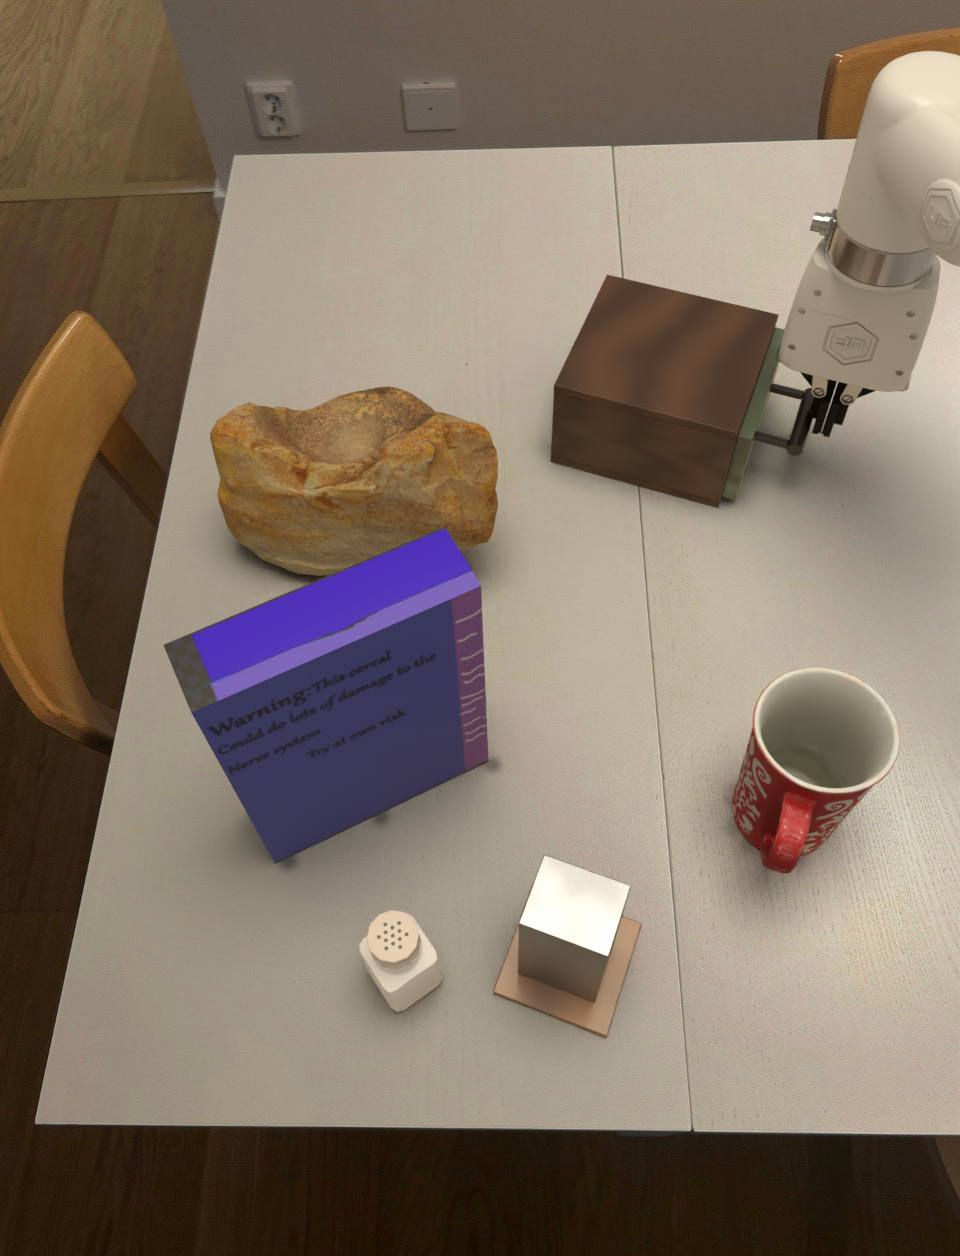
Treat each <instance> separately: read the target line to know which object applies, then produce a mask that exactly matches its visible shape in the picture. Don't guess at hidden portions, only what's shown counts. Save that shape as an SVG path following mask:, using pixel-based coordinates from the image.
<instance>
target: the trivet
mask: <svg viewBox="0 0 960 1256" xmlns="http://www.w3.org/2000/svg"><path fill="white" fill-rule="evenodd" d="M532 886H533V884H532V885H531V887H532ZM530 891H531V889H530ZM530 891H529V893H528V896H527V899H528V897H529V894H530ZM527 899H526V901H525V904H524V906H525V905H526V902H527ZM523 910H524V908H523V909H522V912H521V915H520V918H521V916H522V913H523ZM520 918H519V920H518V923H517V926H516V928H515V930H514V934H513V936H512V939H511V942H510V945H509V947H508V950H507V953H506V956H505V959H504V961H503V964H502V967H501V969H500V971H499V975H498V978H497V980H496V982H495V985H494V987H493V990H492V992H493V994H494V995H497V996H499V997H501V998H503V999H507V1000H509V1001H511V1002H514V1003H517V1004H520V1005H522V1006H525V1007H527V1008H529V1009H532V1010H533V1011H534V1010H535V1011H537V1012H539V1013H542V1014H544V1015H548V1016H550V1017H553V1018H555V1019H557V1020H560V1021H562V1022H565V1023H568V1024H570V1025H573V1026H575V1027H578V1028H581V1029H582V1030H586V1031H587V1032H590V1033H593V1034H596V1035H598V1036H601V1037H603V1038H607V1037H608V1034H609V1031H610V1028H611V1025H612V1023H613V1022H612V1021H613V1018H614V1015H615V1012H616V1010H617V1009H616V1008H617V1005H618V1002H619V998H620V995H621V992H622V989H623V986H624V983H625V980H626V976H627V973H628V969H629V967H630V963H631V960H632V957H633V953H634V950H635V947H636V943H637V940H638V937H639V934H640V930H641V927H642V922H640V921H637V920H634V919H633V918H632V919H631V918H629V917H626V916H624V915H622V919H621V922H620V925H619V929H618V932H617V936H616V939H615V942H614V945H613V949H612V952H611V955H610V958H609V961H608V964H607V967H606V971H605V974H604V977H603V980H602V983H601V986H600V989H599V993H598V996H597V999H596V1002H595V1003H594V1002H591V1001H589V1000H586V999H583V998H581V997H578V996H576V995H573V994H570V993H568V992H565V991H563V990H560V989H558V988H555V987H552V986H550V985H547V984H545V983H542V982H539V981H537V980H534V979H532V978H529V977H526V976H524V975H521V974H519V973H518V939H519V921H520Z"/></svg>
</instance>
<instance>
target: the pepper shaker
mask: <svg viewBox="0 0 960 1256" xmlns="http://www.w3.org/2000/svg"><path fill="white" fill-rule="evenodd" d="M358 949H359V954H360V956H361V958H362V961H363V963H364V965H365V967H366V970H367V972H368V975H369V976H370V977H371V979H372V980H373V982H374V983H375V985H376V986H377V988H378V990H379V991H380V993H381V995H382V996H383V998H384V1000H385V1001H386V1003H387V1004H388V1005H389V1007H390V1009H392V1010H393V1011H395V1012H396V1013H399V1012H404V1011H405V1010H407V1009H408V1008H409V1007H411V1006H412V1005H414V1004H415V1003H417V1002H418V1001H419V1000H421V999H422V998H423V997H425V996H427V995H428V994H429V993H430V992H431V991H433V990H435V989H436V988H437V987H439V985H440V984H441V983H442V981H443V975H442V971H441V967H440V961H439V957H438V953H437V950H436V948H435V947H434V946H433V943H431V941H430V939H429V938H428V936H427V935H426V934H425V932H424V930H423V929H422V928H421V926H420V924H419V923H418V922H417V920H416V919H415V917H414V916H412V915H411V914H410V913H407V912H405V911H400V910H396V909H395V910H394V909H390V910H387V911H385V912H382V913H379V914H378V915H377V916H376V917H375V918H374V919H373V920H372V921H371V923H370V924H369V925H368V931H367V934H366V936H364V937H363V938H362V940H361V941H360V943H359V944H358Z"/></svg>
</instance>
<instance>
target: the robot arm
mask: <svg viewBox="0 0 960 1256" xmlns="http://www.w3.org/2000/svg"><path fill="white" fill-rule="evenodd" d="M836 208H837V209H836ZM836 208H832V210H831V212H828V211H826V212H825V213H824V212H818V211H815V212H814V213H813V214H814V215H813V217H812V221H811V225H810V228H809V231H810V232H812V233H813V232H814V233H818V234H819V236H823V237H822V238H821V239H820V241H819V243H818V245H817V246H816V247H815V249H814V251H813V253H812V254H811V256H810V258H809V260H808V263H807V265H806V266H805V268H804V271H803V274H802V276H801V279H800V281H799V284H798V287H797V289H796V292H795V295H794V297H793V301H792V305H791V308H790V310H789V314H788V317H787V321H786V323H785V327H784V329H785V330H784V334H783V337H782V341H781V344H780V346H779V348H778V351H777V353H776V356H775V358H776V360H777V361H778V362H780V363H781V364H783V366H784V367H787V368H788V369H790V370H792V371H795V372H799V374H800V375H801V376H802V377H803V378H804V379H805V381H806V382H807V383H808V384H809V385H810V388H812V389H811V393H812V395H813V396H814V398H813V402H812V405H811V408H810V411H809V415H808V417H810V418H813V420H814V419H815V421H814V424H813V427H812V430H811V434H814V435H819V434H821V435H823V436H822V437H825V438H830V436H831V433H832V430H833V428H834V425H838V426H843V424H844V421H845V418H846V416H847V413H848V410H849V407H850V405H853V404H854V403H855V402H856V400H857V399H858V398H862V397H864V396H866V395H870V394H872V393H875V392H882V393H896V392H906V391H908V390H909V387H910V384H911V380H912V375H913V372H914V370H915V367H916V364H917V361H918V359H919V356H920V352H921V350H922V348H923V344H924V342H925V339H926V335H927V332H928V330H929V326H930V324H931V321H932V317H933V313H934V310H935V306H936V301H937V296H938V292H939V286H940V276H941V261H940V260H939V258H940V259H941V260H943V261H945V262H947V263H948V264H950V265H952V266H955V267H960V55H959V54H955V53H951V52H945V51H939V50H920V51H914V52H910V53H907V54H904V55H901V56H898V57H896V58H895V59H893V60H891V61H889V62H888V63H887V64H886V65H885V66H884V67H883V68H882V69H881V70H880V71H879V72H878V74H877V75H876V77H875V78H874V79H873V82H872V84H871V87H870V89H869V93H868V95H867V99H866V103H865V106H864V109H863V114H862V117H861V120H860V125H859V128H858V131H857V135H856V139H855V143H854V146H853V151H852V154H851V157H850V161H849V164H848V168H847V171H846V175H845V178H844V182H843V185H842V188H841V193H840V197H839V200H838V204H837V207H836ZM780 363H779V364H780Z"/></svg>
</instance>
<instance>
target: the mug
mask: <svg viewBox="0 0 960 1256" xmlns="http://www.w3.org/2000/svg"><path fill="white" fill-rule="evenodd" d="M900 746H901V737H900V729H899V725H898V721H897V720H896V717H895V715H894V712H893V710H892V709H891V707H890V706H889V704H888V703H887V701H886V700H885V699H884V698H883V697H882V696H881V694H880V693H878V692H877V691H876V689H875V688H873V687H872V686H870V685H869V684H868V683H866V682H865V681H864V680H861V679H860V678H858V677H856V676H854V675H852V674H850V673H847V672H844V671H842V670H838V669H834V668H829V667H819V666H813V667H812V666H810V667H802V668H797V669H793V670H791V671H790V670H789V671H788V672H785V673H782V674H781V675H779V676H778V677H776V678H775V679H773V680H771V681H770V682H769V683H768V685H766V686H765V687H764V689H763V690H762V691H761V693H760V694H759V696H758V698H757V700H756V702H755V705H754V709H753V714H752V727H751V731H750V734H749V738H748V742H747V745H746V751H745V754H744V757H743V760H742V763H741V767H740V771H739V773H738V774H739V775H738V778H737V782H736V784H735V788H734V791H733V796H732V804H731V805H732V814H733V819H734V821H735V824H736V826H737V828H738V830H739V832H740V833H741V835H742V836H743V837H744V838H745V839H746V841H747V842H749V844H751V845H752V846H754V847H755V848H756V849H758V850H760V861H761V865H763V867H764V868H766V869H768V870H770V871H773V872H776V873H780V874H787V875H788V874H790V873H792V872H793V870H794V869H795V867H796V866H797V865H798V862H799V860H800V859H801V857H804V856H806V855H807V856H808V855H810V854H811V853H813V852H815V851H816V850H818V849H819V848H820V847H821V846H822V845H823V844H824V843H825V842H826V841H827V840H828V839H829V838H830V837H831V835H832V834H833V833H834V832H835V830H836V829H837V828H838V827H839V825H841V823H842V822H843V821H844V820H845V819H846V817H848V816H849V814H850V813H851V812H852V810H853V809H854V808H855V807H856V806H857V805H858V804H859V803H860V802H861V801H862V800H863V798H865V796H866V795H867V794H868V792H870V790H872V788H873V787H875V785H877V784H878V783H880V782H881V781H882V780H884V778H885V777H886V776H888V774H889V773H890V772H891V770H892V769H893V767H894V766H895V763H896V761H897V759H898V756H899V752H900V748H901V747H900Z"/></svg>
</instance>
